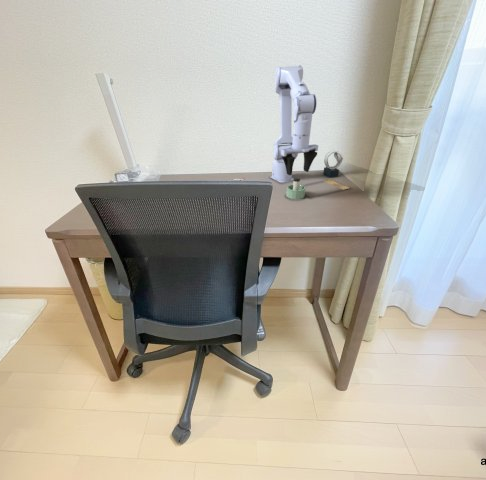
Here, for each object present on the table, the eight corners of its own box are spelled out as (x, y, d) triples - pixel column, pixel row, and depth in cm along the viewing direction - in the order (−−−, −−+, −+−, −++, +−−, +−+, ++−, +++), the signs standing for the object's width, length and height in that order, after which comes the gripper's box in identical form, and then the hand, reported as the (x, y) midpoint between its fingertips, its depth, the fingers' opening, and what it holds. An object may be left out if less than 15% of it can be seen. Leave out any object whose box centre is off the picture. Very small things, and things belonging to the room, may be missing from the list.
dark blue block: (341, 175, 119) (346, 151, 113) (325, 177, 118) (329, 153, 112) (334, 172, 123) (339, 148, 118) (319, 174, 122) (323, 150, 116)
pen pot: (282, 195, 103) (283, 186, 101) (297, 191, 106) (298, 183, 103) (292, 201, 98) (293, 192, 96) (308, 197, 100) (309, 188, 98)
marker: (291, 194, 102) (292, 177, 98) (296, 193, 103) (297, 176, 99) (294, 196, 100) (296, 179, 96) (299, 195, 101) (301, 178, 97)
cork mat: (291, 188, 109) (291, 187, 109) (329, 180, 115) (329, 179, 115) (309, 198, 100) (310, 197, 100) (349, 188, 106) (350, 187, 105)
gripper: (290, 139, 84) (287, 179, 91) (326, 133, 88) (320, 172, 95) (278, 135, 90) (276, 173, 97) (312, 130, 94) (308, 167, 101)
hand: (297, 172), depth 97 cm, fingers open, 7 cm apart
